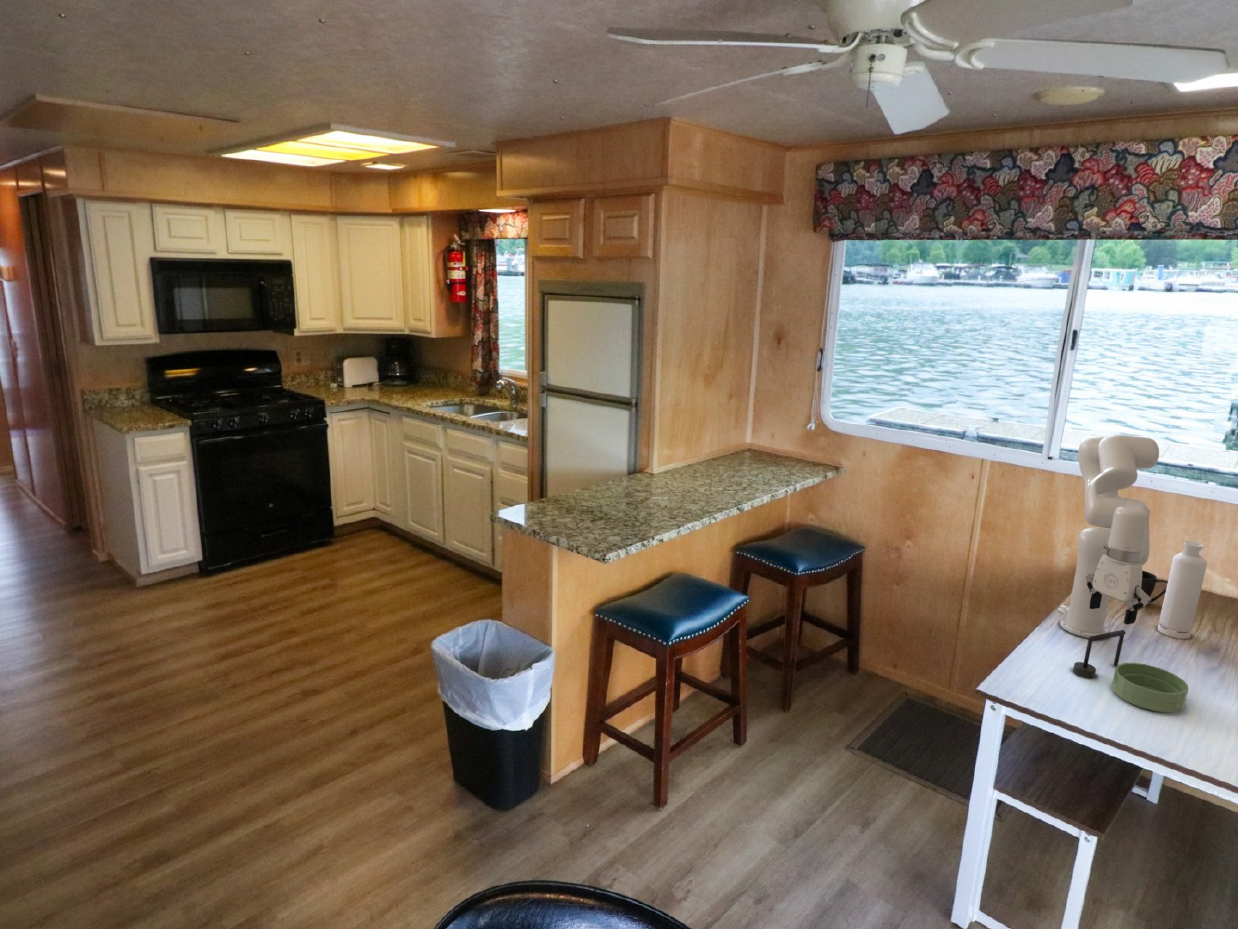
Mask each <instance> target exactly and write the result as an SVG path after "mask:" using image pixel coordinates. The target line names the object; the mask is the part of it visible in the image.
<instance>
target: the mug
mask: <svg viewBox="0 0 1238 929" xmlns="http://www.w3.org/2000/svg"><path fill="white" fill-rule="evenodd" d="M1156 583H1166V585H1167V584H1168V580H1165V579H1158V578H1157V576H1156V574H1154V573H1151V572H1149V571H1146V570H1142V584H1141V589H1142V590H1143V591H1144V592H1145V593H1146V594H1147V595H1148V596H1149V597H1150V598H1151V601H1150V602H1149V603H1148V604H1151V603H1154V602H1155V601H1156V600H1158V599H1159V598H1161V597H1162V596H1164V595H1165V593H1166V588H1167V586H1166V587H1165V588H1164V589H1163V590H1162V591H1161V592H1160V593H1159V594H1157V595H1156V596H1154V597H1151V596H1152V595H1153V592H1154V590H1155V587H1156ZM1137 600H1138V602H1140V601H1141V598H1140V597H1139V598H1138V599H1137Z"/></svg>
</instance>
